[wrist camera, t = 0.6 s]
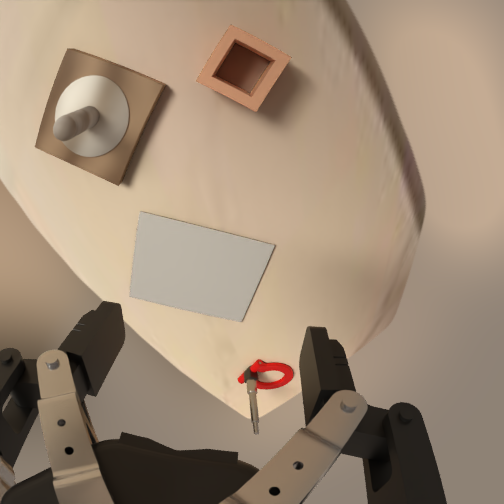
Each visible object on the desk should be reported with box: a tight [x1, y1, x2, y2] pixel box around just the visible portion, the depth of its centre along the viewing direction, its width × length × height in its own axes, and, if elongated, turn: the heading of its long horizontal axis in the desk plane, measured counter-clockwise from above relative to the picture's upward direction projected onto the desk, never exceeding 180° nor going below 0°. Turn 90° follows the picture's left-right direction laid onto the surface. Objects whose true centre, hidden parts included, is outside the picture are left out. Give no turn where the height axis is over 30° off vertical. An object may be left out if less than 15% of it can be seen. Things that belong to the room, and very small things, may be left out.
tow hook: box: [238, 360, 293, 434], centre depth 49 cm, size 8×13×9 cm
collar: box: [196, 25, 292, 112], centre depth 25 cm, size 6×6×4 cm
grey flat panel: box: [130, 211, 275, 322], centre depth 39 cm, size 23×25×1 cm
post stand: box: [35, 49, 166, 186], centre depth 25 cm, size 12×12×8 cm
